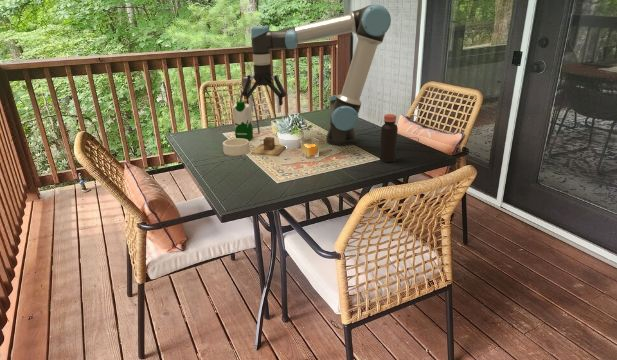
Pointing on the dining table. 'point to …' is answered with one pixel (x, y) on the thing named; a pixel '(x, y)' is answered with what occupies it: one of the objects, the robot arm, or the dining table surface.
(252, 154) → the mat
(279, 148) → the lid
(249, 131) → the milk carton
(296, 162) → the dining table surface
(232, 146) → the bowl
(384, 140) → the bottle
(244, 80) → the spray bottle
